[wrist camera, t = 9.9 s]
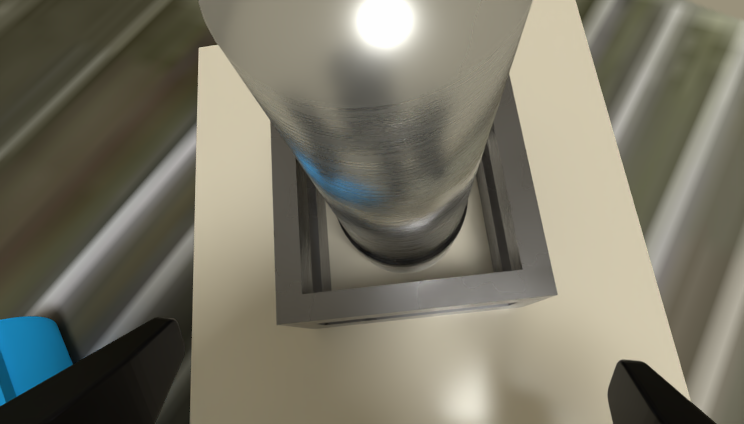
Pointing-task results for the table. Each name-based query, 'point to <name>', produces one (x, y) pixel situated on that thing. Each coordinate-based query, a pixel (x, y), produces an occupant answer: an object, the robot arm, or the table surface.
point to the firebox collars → (421, 298)
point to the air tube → (379, 105)
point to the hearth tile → (429, 275)
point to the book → (29, 354)
